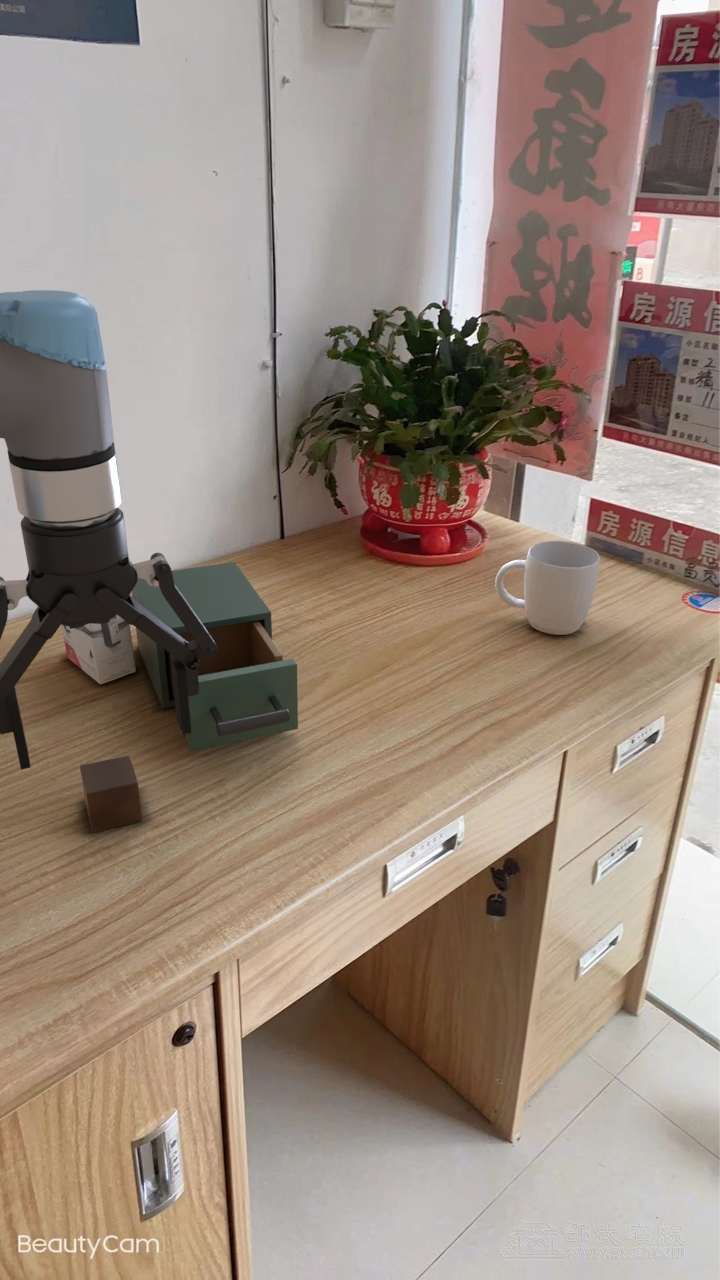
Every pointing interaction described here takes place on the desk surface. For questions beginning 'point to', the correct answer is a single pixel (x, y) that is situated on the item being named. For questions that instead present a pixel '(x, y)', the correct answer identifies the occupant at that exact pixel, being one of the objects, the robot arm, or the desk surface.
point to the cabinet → (198, 611)
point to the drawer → (240, 688)
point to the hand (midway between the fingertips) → (106, 742)
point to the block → (111, 793)
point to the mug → (554, 585)
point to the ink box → (101, 649)
